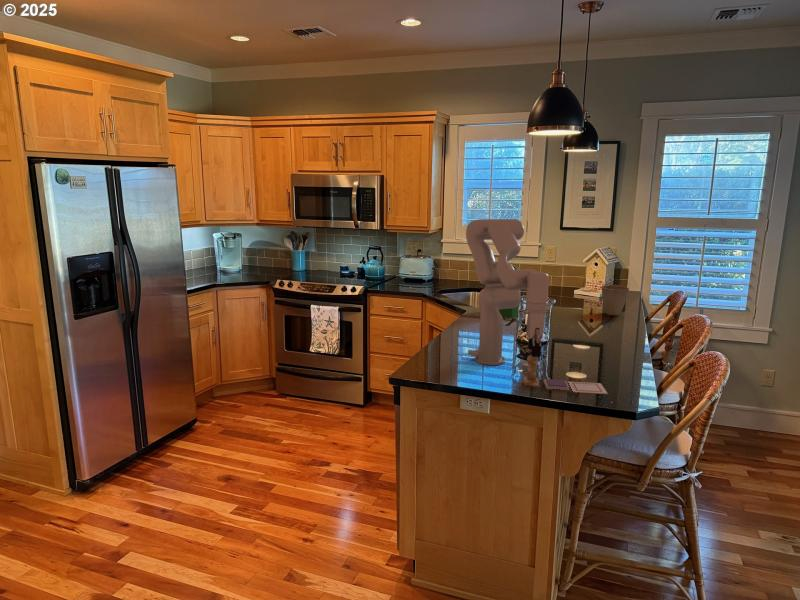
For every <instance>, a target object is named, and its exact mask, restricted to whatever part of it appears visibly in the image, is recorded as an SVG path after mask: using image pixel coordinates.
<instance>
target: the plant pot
mask: <svg viewBox="0 0 800 600" xmlns="http://www.w3.org/2000/svg"><path fill="white" fill-rule="evenodd" d="M629 292H630V287H627V286H623V285H616V284H605V285H601V295H602V296H601V297H602V303H603V307H604V311H605V314H606V315H608V316H620V315H621V313H622V311H623V308H624V307H625V304H626V302H627V299H628V296H629Z"/></svg>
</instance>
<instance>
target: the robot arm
mask: <svg viewBox="0 0 800 600" xmlns="http://www.w3.org/2000/svg"><path fill="white" fill-rule="evenodd" d="M524 234H525V227H524V224H523V223H522V222H521V221H520V220H519V219H517V218H495V219H493V218H479V219H474V220H472V221H469V223H468V224H467V225H466V229H465V238H466V242H467V246H468V247H469V249H470V251H471V255H472V258H473V263H474V268H475V272H476V276H477V280H478V281H479V283H480V284H482V285H493V284H501V285H502V286H494V287H487V288H485V287H484V288H483V289H481V290H480V292H479V294H478V304H479V311H480V313H479V316H480V320H479V337H478V338H479V340H478V344H479V345H478V348H477V349H475V350H473V349H468V350H467V355H470V356H471V357H473V356H474V360H475V362H476V363H479V364H481V365H485V366H486V365H487V366H498V365H499V366H500V365H503V364H505V363H506V358H505V357H504V356H502V355H503V354H502V353H503V339H504V338H503V337H504V336H503V335H504V319H503V318H504V317H502V316H501V314H500V313H499V310H500V309H510V308H515V307H517V306H518V307H519V306H520V304H521V301H522V300H521V299H522V296H521V291H523V290H524V291H525V290H526V292H525V293H526V297H525V311H526V312H527V319H526V330H525V333H526V335H527V338H528V350H531V354H532V357H538V358H541V356H542V339H543V337H544V327H545V326H544V323H545V322H544V321H545V313H547V312H548V302H549V301H548V300H549V283H550V276H549V274H548V273H546V272H543V271H538V270H537V269H533V268H526V269H524V268H523V269H521V268H520V269H515V268H514V265H513V264H511V263H510V262H509V261H511V260H513V259H514V258H515V257H517V256H518V255H519V254H520V252H521V244H520V243H519V240H521V239H522V238H523V237H524ZM485 240H489V241H490V240H491V242H492V243H493V245H494V247H495V250H496V251H497V252H498V254H499V255H498V258H497V261H496V259H495V255H494V251H493V248H491V246H490V245H489V244H488V243H487V242H485Z"/></svg>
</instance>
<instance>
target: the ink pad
mask: <svg viewBox="0 0 800 600" xmlns="http://www.w3.org/2000/svg"><path fill="white" fill-rule="evenodd" d="M543 385H544V387H545V389H546V390H552V389H555V391H570V386H569V384H568V381H567V380H565V379H552V378H551V379H548V378H546V379H543ZM556 389H558V390H556ZM559 389H560V390H559Z"/></svg>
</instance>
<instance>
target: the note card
mask: <svg viewBox="0 0 800 600" xmlns="http://www.w3.org/2000/svg"><path fill="white" fill-rule="evenodd" d="M568 383H569V384H568ZM567 384H568V386H569V385H570V386H569V388H570V387H571V388H570V389H572V390H571V391H573V392H572V393H578V392H579V393H581V394H583V393H584V394H601V395H608V391H607V389H605V387H604V385H603V384H602V383H599V382H585V381H583V382H581V381H567ZM579 393H578V394H579Z"/></svg>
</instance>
